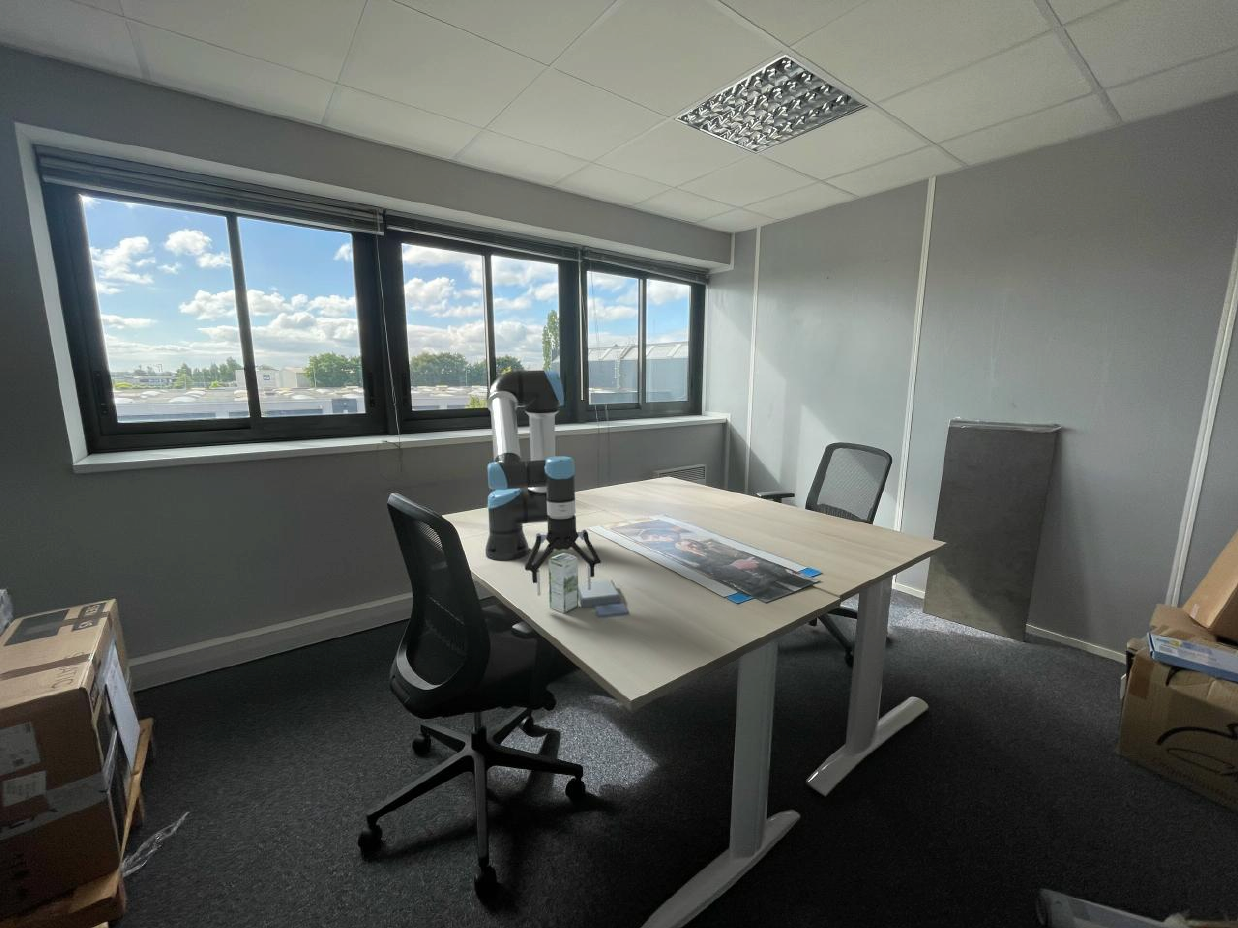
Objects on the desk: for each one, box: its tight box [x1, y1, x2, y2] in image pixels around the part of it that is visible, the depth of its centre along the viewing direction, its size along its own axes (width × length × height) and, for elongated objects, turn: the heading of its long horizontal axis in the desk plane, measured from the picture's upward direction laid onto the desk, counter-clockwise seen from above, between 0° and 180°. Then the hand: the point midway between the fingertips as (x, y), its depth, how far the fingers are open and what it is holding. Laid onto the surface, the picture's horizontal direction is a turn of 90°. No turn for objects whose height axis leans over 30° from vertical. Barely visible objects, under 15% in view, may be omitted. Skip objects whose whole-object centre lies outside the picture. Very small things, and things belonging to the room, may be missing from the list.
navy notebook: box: [594, 602, 629, 618], centre depth 130 cm, size 5×8×1 cm, turn 103°
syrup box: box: [548, 552, 579, 614], centre depth 132 cm, size 6×6×14 cm
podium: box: [578, 579, 622, 608], centre depth 139 cm, size 11×11×2 cm
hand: (564, 590), depth 132 cm, fingers open, 13 cm apart
